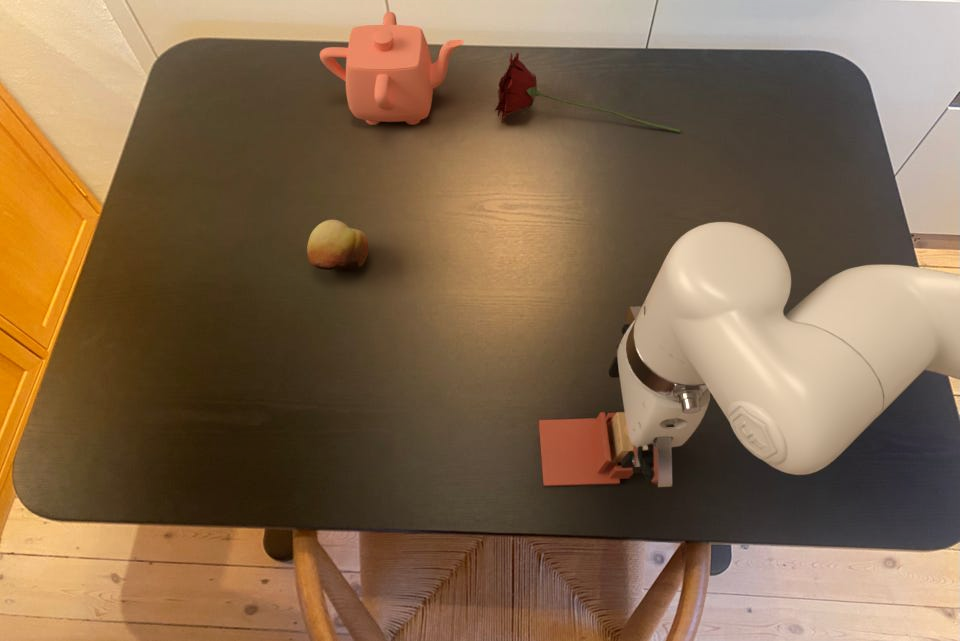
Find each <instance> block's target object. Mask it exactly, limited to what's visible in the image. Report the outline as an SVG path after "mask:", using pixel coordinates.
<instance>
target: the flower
mask: <svg viewBox="0 0 960 641" xmlns="http://www.w3.org/2000/svg"><path fill="white" fill-rule="evenodd" d="M519 56H520V53H519V51H517V52H516V53H515V55H514V57H513V52H510V56H509V65H508V67H507V68H506V71H505V72H504V74H503V76H501V77H500V79H499V81H498V90H497V95H498V96H497V97H498V103H497V106H496V107H495V109H494V112H496V111H497V117H498V118H500V114H501V120H500V123H501V124H503V123H504V117H506V116H508V115H511V114H513V113H515V112H518V111H520V110H523V109H526V110H525V111H524V112H523V113H522V115H524V114H526V113H527V112H528V111H529V109H530V108H531V107H532V105H533V103H534V102H535V100H536V97H538V96H539V97H540V96H541V97H544V98H548V99H551V100H555V101H559V102H562V103H566V104H571V105H575V106H579V107H584V108H588V109H591V110H592V109H593V110H598V111H602V112H606V113H609V114H613V115H616V116H618V117H622V118H624V119H627V120H629V121H632V122H636V123H640V124H642V125H646V126H649V127H654V128H657V129H662V130H665V131H670V132H674V133H681V130H682V129H678V128H674V127H670V126H666V125H661V124H658V123H652V122H649V121H645V120H641V119H638V118H635V117H632V116H629V115H626V114H623V113H620V112H618V111H614V110H610V109H607V108H603V107H598V106H594V105H589V104H584V103H580V102H576V101H571V100H567V99H564V98H560V97H557V96H553V95H549V94H545V93H542V92H540V91H538V84H537V82H538V80H537V77H536V74H535V73H533V72H532V71H531V70H529V69H528V68H527V66H526V65H525V64H524V63H523V62H522V61H521V60H520V59H519Z"/></svg>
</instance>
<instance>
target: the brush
mask: <svg viewBox="0 0 960 641" xmlns="http://www.w3.org/2000/svg"><path fill="white" fill-rule="evenodd" d="M615 413H616V414H615V415H614V417H613V418H612V419H611V420H610V422H609V423H608V424H607V431H608V439H609V447H610V454H611V462H610V463H617V464H621V461H622V459H623V458H624V457H625V456H626V454H627V453H628V452H629V451H633V446H634V445H633V444H632V443H631V442H630V439H629V435H628V430H627V424H626V418H625V411H618V412H617V411H616V412H615ZM643 450H649V445H646V446H643Z"/></svg>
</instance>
